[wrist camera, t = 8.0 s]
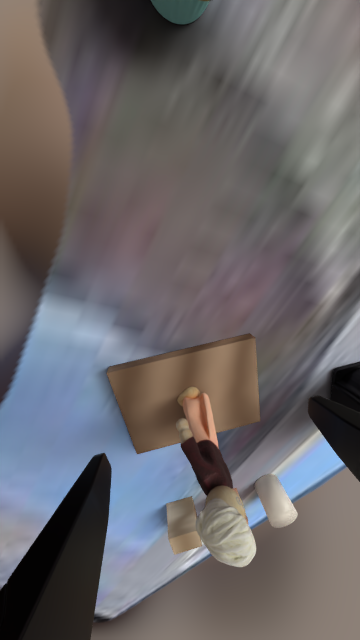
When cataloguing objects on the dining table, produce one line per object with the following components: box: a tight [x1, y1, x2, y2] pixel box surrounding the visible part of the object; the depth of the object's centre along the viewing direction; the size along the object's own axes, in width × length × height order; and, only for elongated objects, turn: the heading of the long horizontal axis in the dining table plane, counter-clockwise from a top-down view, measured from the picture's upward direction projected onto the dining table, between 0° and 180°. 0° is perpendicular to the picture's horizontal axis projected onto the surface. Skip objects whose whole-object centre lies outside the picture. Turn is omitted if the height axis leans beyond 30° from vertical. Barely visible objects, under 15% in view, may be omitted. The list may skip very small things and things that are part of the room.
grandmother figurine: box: [176, 387, 256, 567], centre depth 16 cm, size 8×4×13 cm, turn 44°
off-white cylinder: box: [255, 474, 297, 528], centre depth 29 cm, size 4×4×4 cm
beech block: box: [166, 496, 202, 555], centre depth 29 cm, size 4×4×4 cm
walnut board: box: [107, 334, 260, 454], centre depth 23 cm, size 16×12×1 cm
